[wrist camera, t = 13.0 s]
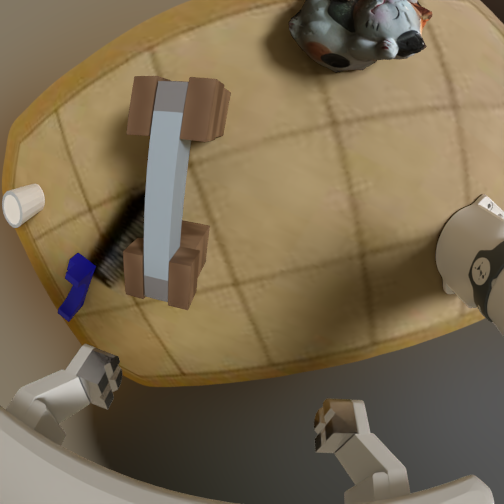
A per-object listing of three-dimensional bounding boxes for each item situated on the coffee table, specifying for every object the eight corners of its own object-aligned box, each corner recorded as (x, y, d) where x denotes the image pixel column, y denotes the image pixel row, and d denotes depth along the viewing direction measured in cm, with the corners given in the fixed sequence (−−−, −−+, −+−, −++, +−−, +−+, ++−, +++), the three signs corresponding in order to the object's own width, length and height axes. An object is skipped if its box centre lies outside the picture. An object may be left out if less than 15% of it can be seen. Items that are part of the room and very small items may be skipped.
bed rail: (199, 87, 25) (188, 82, 21) (177, 284, 36) (167, 301, 32) (173, 85, 25) (158, 81, 21) (156, 279, 36) (144, 296, 32)
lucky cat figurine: (323, -23, 22) (399, -52, 11) (376, 33, 29) (453, 25, 18) (268, 31, 24) (352, -6, 13) (335, 94, 31) (425, 95, 20)
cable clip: (78, 252, 45) (60, 267, 40) (96, 265, 46) (79, 282, 40) (67, 292, 50) (52, 308, 44) (83, 304, 51) (68, 321, 45)
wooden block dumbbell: (235, 93, 32) (216, 79, 21) (209, 262, 43) (187, 310, 32) (175, 87, 32) (134, 76, 21) (159, 252, 43) (125, 294, 32)
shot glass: (41, 176, 39) (15, 186, 32) (50, 211, 42) (26, 225, 35) (22, 185, 40) (-2, 195, 33) (31, 217, 42) (8, 230, 36)
